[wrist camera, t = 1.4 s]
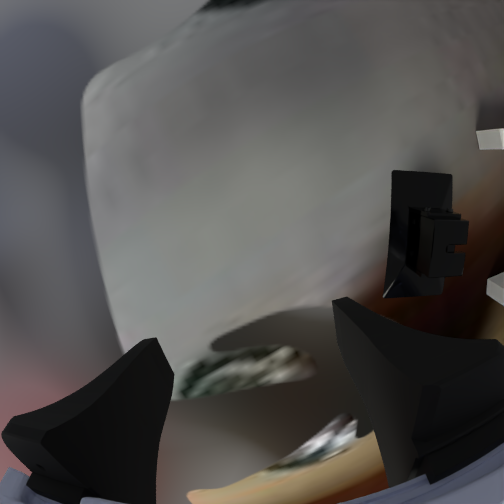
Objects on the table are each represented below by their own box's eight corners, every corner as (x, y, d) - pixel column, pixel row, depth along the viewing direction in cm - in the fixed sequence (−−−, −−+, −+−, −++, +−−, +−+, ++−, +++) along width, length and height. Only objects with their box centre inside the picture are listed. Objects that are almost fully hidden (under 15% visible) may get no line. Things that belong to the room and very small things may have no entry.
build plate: (441, 305, 21) (469, 331, 16) (365, 312, 21) (385, 345, 17) (455, 155, 18) (492, 155, 13) (373, 145, 18) (401, 140, 14)
